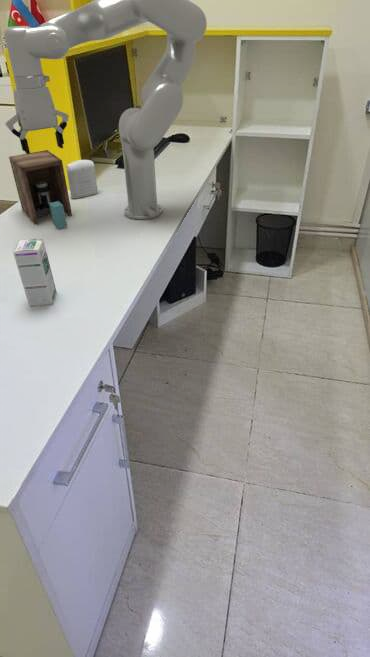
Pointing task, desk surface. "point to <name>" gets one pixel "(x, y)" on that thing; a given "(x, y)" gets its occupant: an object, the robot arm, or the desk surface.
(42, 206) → the self-inking stamp
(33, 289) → the syrup box
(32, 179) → the walnut cubby
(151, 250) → the desk surface
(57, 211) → the teal and black gadget
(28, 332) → the desk surface
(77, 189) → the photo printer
